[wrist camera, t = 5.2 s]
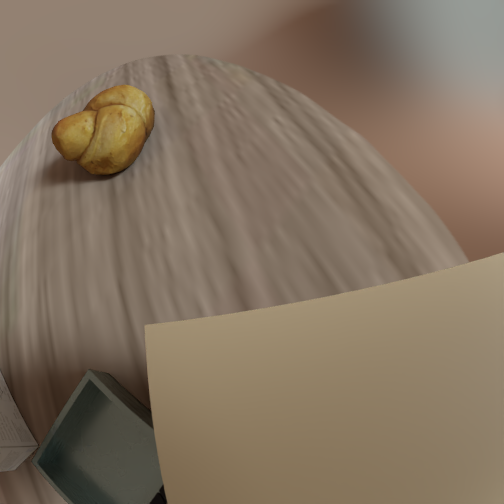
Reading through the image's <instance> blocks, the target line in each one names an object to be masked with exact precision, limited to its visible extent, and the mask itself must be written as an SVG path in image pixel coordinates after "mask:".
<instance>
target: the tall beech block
mask: <svg viewBox="0 0 504 504" xmlns="http://www.w3.org/2000/svg"><path fill="white" fill-rule="evenodd" d="M145 344H146V359H147V372H148V383H149V393H150V402H151V411H152V419H153V426H154V433H155V440H156V446H157V453H158V459H159V464H160V470H161V475H162V480H163V485H164V490H165V494H166V499H167V503H168V504H504V253H500V254H497V255H494V256H490V257H487V258H484V259H481V260H477V261H473V262H470V263H466V264H463V265H459V266H455V267H452V268H448V269H444V270H440V271H436V272H433V273H429V274H425V275H421V276H417V277H413V278H409V279H405V280H400V281H396V282H392V283H388V284H383V285H379V286H375V287H370V288H366V289H361V290H356V291H352V292H347V293H342V294H337V295H333V296H328V297H323V298H318V299H312V300H307V301H302V302H297V303H291V304H286V305H280V306H274V307H269V308H263V309H257V310H251V311H245V312H238V313H232V314H225V315H219V316H212V317H205V318H198V319H190V320H183V321H175V322H167V323H159V324H150V325H145Z"/></svg>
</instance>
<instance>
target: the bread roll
mask: <svg viewBox="0 0 504 504" xmlns="http://www.w3.org/2000/svg"><path fill="white" fill-rule="evenodd" d="M154 112H155V111H154V109H153V106H152V102H151V100H150V99H149V98H148V96H147V95H146V94H145V93H144V92H142V91H140V90H139V89H137V88H135V87H132V86H129V85H120V86H115V87H112V88H109V89H106V90H104V91H102V92H100V93H99V94H98V95H96V96H95V97H94V98H93V99H92V100H90V102H89V103H88V104H87V105H86V107H85V108H84V110H83V111H82V112H79V113H76V114H73V115H71V116H68V117H66V118H64V119H62V120H60V121H58V123H57V124H56V125H55V127H54V128H53V130H52V142H53V144H54V146H55V147H56V149H57V150H58V151H59V153H60V154H62V156H63V157H64V158H65V159H66V160H69V161H74V160H76V161H77V163H78V164H79V165H81V166H82V167H83V168H84V169H86V170H87V171H88V172H90V173H91V174H97V175H98V174H103V175H104V174H113V173H116V172H120V171H122V170H123V169H126V168H127V167H128V166H130V165H131V164H132V163H133V162H134V161H135V160H136V158H137V157H138V156H139V154H140V152H141V151H142V148H143V146H144V143H145V142H146V140H147V138H148V137H149V136H150V133H151V131H152V129H153V127H154V115H155V113H154Z"/></svg>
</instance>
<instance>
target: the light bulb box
mask: <svg viewBox="0 0 504 504" xmlns="http://www.w3.org/2000/svg"><path fill="white" fill-rule="evenodd" d="M38 447H39V445H38V444H37V442H36V441H35V439H34V437H33V436H32V434H31V432H30V430H29V429H28V427H27V425H26V423H25V421H24V420H23V418H22V416H21V414H20V412H19V410H18V408H17V406H16V404H15V402H14V400H13V398H12V396H11V394H10V392H9V389H8V387H7V385H6V383H5V380H4V378H3V376H2V373H1V371H0V472H2V471H11V470H15V469H16V468H17V467H18V466H19V465H20V464H21V463H22V462H23V461H24V460H25V459H26V458H27V457H28V456H30V454H31V453H33V452H34V451H35V450H36V449H37V448H38Z"/></svg>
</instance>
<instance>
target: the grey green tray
mask: <svg viewBox="0 0 504 504" xmlns="http://www.w3.org/2000/svg"><path fill="white" fill-rule="evenodd" d="M31 462H32V463H33V464H34V465H35V467H36V468H37V469H38V470H39V472H40V473H41V474H42V475H43V476H44V478H45V479H46V480H47V481H48V482H49V483H50V484H51V486H52V487H53V488H54V489H55V490H56V491H57V492H58V493H59V494H60V495H61V496H62V498H63V499H64V500H65V501H66V502H67V503H68V504H149V503H150V502H151V500H152V499H153V498H154V496H155V495H156V493H157V492H159V489H160V488H161V486H162V485H163V480H162V475H161V470H160V464H159V459H158V453H157V446H156V440H155V433H154V426H153V419H152V412H151V411H150V410H149V409H148V408H146V407H145V406H144V405H143V404H142V403H141V402H139V401H138V400H137V399H136V398H135V397H134V396H133V395H131V394H130V393H129V392H128V391H127V390H126V389H125V388H124V387H123V386H122V385H120V384H119V383H118V382H117V381H116V380H115V379H114V378H113V377H112V376H111V375H110V374H109V373H104V372H99V371H95V370H90V369H88V371H87V372H86V374H85V375H84V377H83V378H82V380H81V381H80V383H79V384H78V386H77V387H76V389H75V390H74V392H73V394H72V395H71V397H70V398H69V400H68V401H67V403H66V405H65V406H64V408H63V409H62V411H61V412H60V414H59V416H58V417H57V419H56V421H55V422H54V424H53V425H52V427H51V429H50V430H49V432H48V434H47V435H46V437H45V439H44V441H43V442H42V444H41V446H40V447H39V449H38V451H37V453H36V454H35V456H34V458H33V460H32V461H31ZM159 493H160V492H159Z"/></svg>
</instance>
